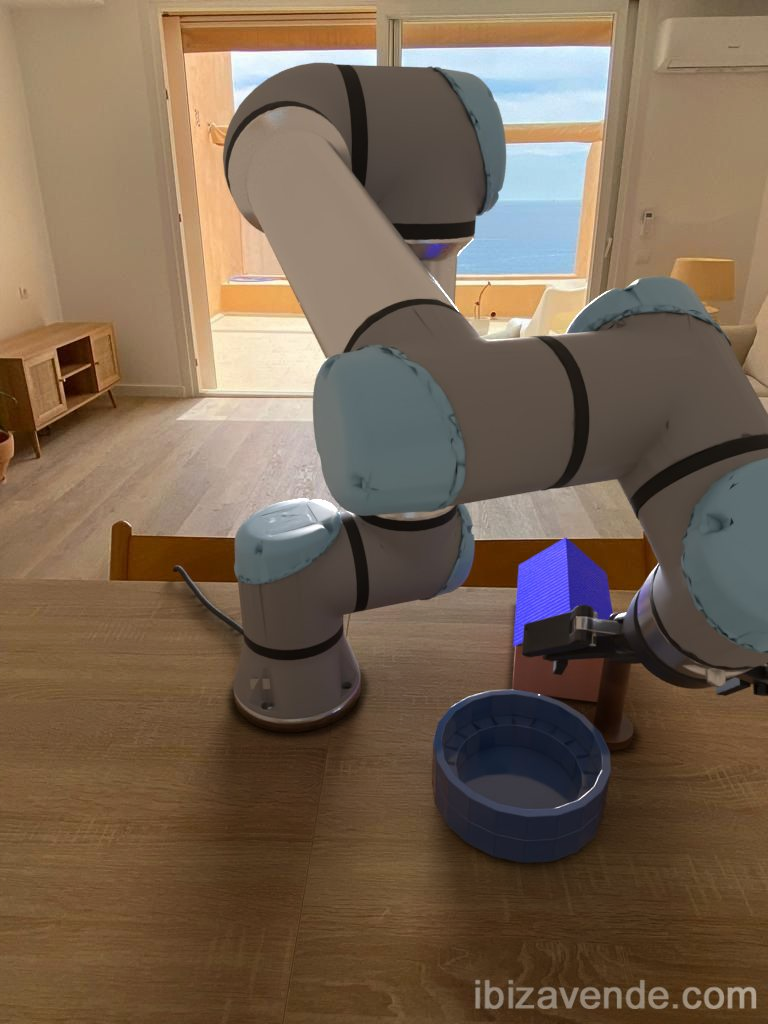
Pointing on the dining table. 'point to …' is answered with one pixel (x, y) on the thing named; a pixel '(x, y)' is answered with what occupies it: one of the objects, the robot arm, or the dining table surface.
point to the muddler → (612, 705)
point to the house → (553, 591)
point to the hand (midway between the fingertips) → (637, 669)
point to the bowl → (520, 775)
